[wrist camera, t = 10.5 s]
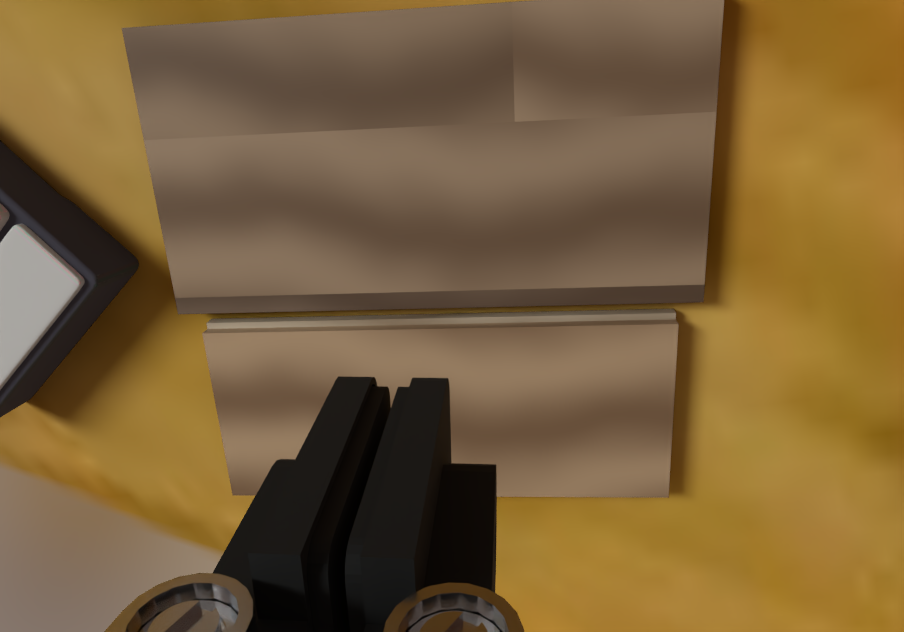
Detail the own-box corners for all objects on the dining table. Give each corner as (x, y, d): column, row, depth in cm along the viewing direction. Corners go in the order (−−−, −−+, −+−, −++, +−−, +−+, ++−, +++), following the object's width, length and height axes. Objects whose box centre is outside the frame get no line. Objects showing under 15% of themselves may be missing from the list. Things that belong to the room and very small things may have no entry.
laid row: (136, 29, 30) (121, 28, 29) (716, -10, 28) (725, -13, 26) (189, 305, 34) (178, 314, 33) (696, 293, 32) (703, 302, 31)
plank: (211, 318, 34) (201, 327, 33) (673, 308, 32) (678, 317, 31) (241, 482, 37) (232, 495, 36) (663, 483, 35) (668, 497, 34)
